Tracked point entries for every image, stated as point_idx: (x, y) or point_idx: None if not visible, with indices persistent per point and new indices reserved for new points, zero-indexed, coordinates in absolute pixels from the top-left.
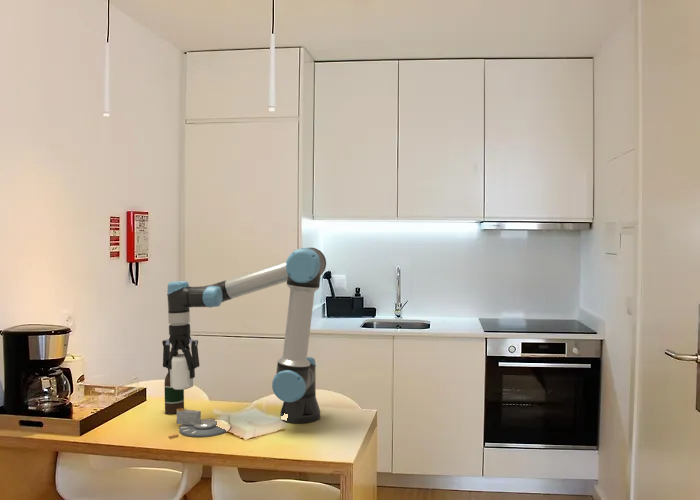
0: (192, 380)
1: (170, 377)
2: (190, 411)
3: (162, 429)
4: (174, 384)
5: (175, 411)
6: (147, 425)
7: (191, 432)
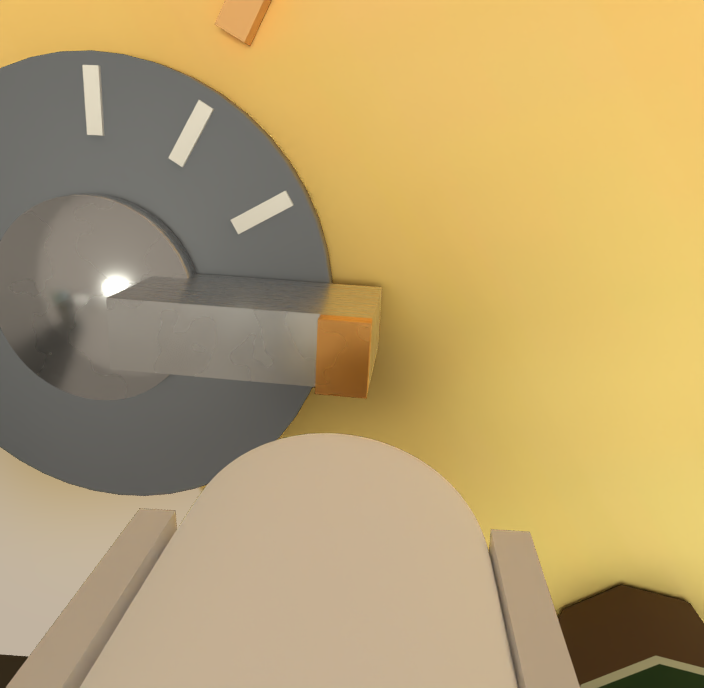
0: None
1: (563, 671)
2: (205, 329)
3: (485, 194)
4: (383, 480)
5: (589, 614)
6: (697, 271)
7: (118, 99)
